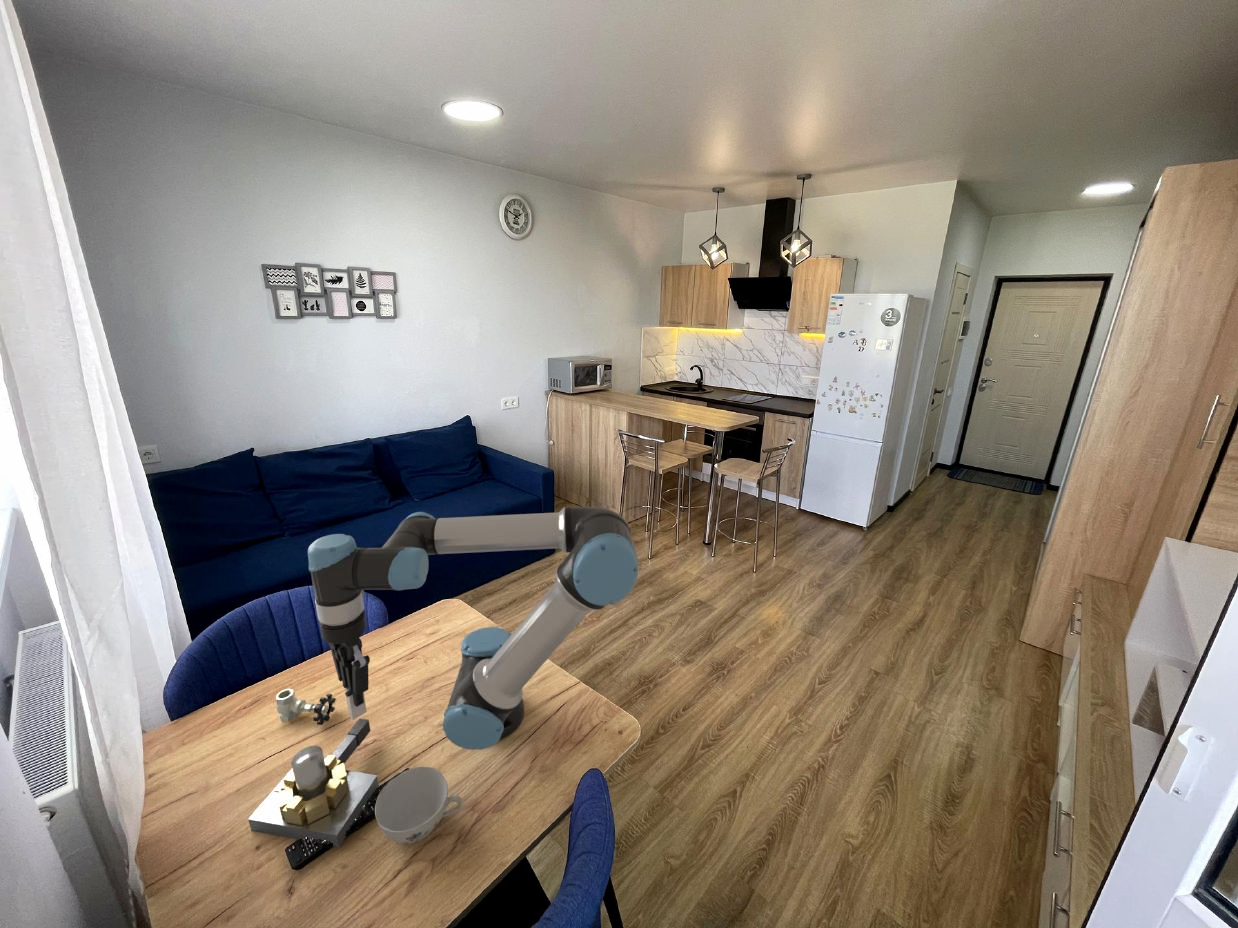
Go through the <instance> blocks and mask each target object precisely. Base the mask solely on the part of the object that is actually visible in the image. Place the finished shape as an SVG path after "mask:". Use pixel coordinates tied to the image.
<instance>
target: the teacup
mask: <svg viewBox="0 0 1238 928" xmlns="http://www.w3.org/2000/svg"><path fill="white" fill-rule="evenodd" d="M448 796H449V786H448V781H447V780H446V778H445V776H444V775H443V773H442V772H441V771H440V770H439V769H438V770H437V768H435V767H430V766H421V765H420V766H416V767H413V768H408V769H407V770H403V771H402V772H401V773H400V774H399V775H396V776H395V777H394V778H392V779H390V780H389V781H388V782H387V784H386V785H385V786H383V788H382V789H381V790H380V791H379V794H378V796H377V797H376V803H375V806H374V815H375V818H376V822H377V824H378V826H379V828H380V830H381V831H382V833H383V834H384V835H385V837H387V838H388V839H389V840H391V841H393V842H395V843H397V844H402V845H408V844H414V843H417V842H419V841H421V840H423V839H425V838H426V837H427V836H429V835H430V834H431V833H432V832H433V831H434V830H435V829H436V828H437V826H438V825H439V823H440V821H441V819H442V818H445V817H449V816H452V815H453V814H455V813H457V811H459V810H460V809H461V808H462V806H463V801H462V800H463V799H462V797H461V796H459V795H452V796H451V795H450V796H449V797H448ZM452 802H454V803H457V806H455V807H454V808H452V809H451V810H448V811H446V808H447V807H448V806H449V805H450V803H452ZM445 811H446V812H445Z"/></svg>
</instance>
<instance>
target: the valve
mask: <svg viewBox="0 0 1238 928" xmlns="http://www.w3.org/2000/svg"><path fill="white" fill-rule="evenodd" d="M275 696H276V697H275V702H276V712H277V713H278V714H279V719H280V722H287V723H288V722H291V721H292V720H294V719H297V718H298V715H299V714H302V713H303V712H306V713H312V712H313V713H314V714H316V716H313V718H312V721H313V722H316V725H317V726H323V725H324V723H325V722H329V720H330V719H331V716H330V714H331V713H334V711H335V709H336V708H335V706H333V704H335V702H336V701H337V700H336V699H337V698H336V697H333V694H332V693H327V694H326V695H325V697H323V696H321V697H320V698H319V701H318V702H320V703H317V704H315V703H314V702H313V703H312V702H307V701H306V699H302V698H301V699H298V698H297V697H296V693H295V689H293V688H286V689H283V690H281V691H279V692H278V693H277V694H276V695H275ZM327 703H328V704H327Z"/></svg>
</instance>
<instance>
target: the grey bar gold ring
mask: <svg viewBox="0 0 1238 928" xmlns="http://www.w3.org/2000/svg"><path fill="white" fill-rule="evenodd" d="M370 732H371V726H370V719H366V718H358V720H356V722H355V723H354V724H353V726H352V727H351V729H349V731H348V732H347V736H345V738H344V739H343V740H342V741H341V743H340V744H339V745H338V746H337V748H336V749H335V750H334V751H333V752H332V754H328V755H326V757H324V761H325V766H326V770H327V775H328V780H330V781H329V782H328V783H327V784H326V786H325V790H326V791H325V792H324V793H323V794H321V795H319V796H317V797H315V798H313V799H311V800H309V801H304V799H303V797H300V796H298V795H299V794H298V790H297V786H296V782H295V777H294V773H293V772H289V771H288V773H287V774H286V775H287V776H286V775H285V776H286V777H285V776H284V777H285V778H284V777H283V778H284V779H283V778H282V779H283V781H284V784H283V785H282V786H281V787H280V788H281V792H279V793H278V798H279V808H280V812H281V816H282V819H283V818H284V819H285V822H287V823H293V824H298V825H303V823H304V822H305V821H306V819H308V824H309V823H311V822H313V821H315V820H317V819H319V818H321V817H323V816H325V815H327V814H329V813H330V812H329V807H330V808H336V807H337V805H338V804H339V803H340V801H341V800H342V798H343V797H344V796H345V794H346V793H347V787H349V786H348V780H347V775H346V771H345V770H346V768H345V764H346V763H347V761H348V760H350V759H349V758H350V757H351V756H352V755H353V753H354V752H355V751H356V750H357V749H358V747H359V746H361V745H362V742H364V741H365V739H366V737H367V736H368V735H369V734H370Z"/></svg>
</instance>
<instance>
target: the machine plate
mask: <svg viewBox="0 0 1238 928" xmlns="http://www.w3.org/2000/svg"><path fill="white" fill-rule="evenodd" d="M324 759H325V756H324V752H323V749H322V747H321V746H320V745H310V746H307V747H305V748H302V749H301V750H299V751H297V753H296V754H294V756H292V759H291V763H290V765H291V769H290V770H289V771H288V773H289V772H293V773H294V777H295V782H296V786H297V790H298V794H299V795H298V796H300V797H303V799H304V801H309V800H311V799H313V798H315V797H317V796H319V795H321V794H323V793H324V792H325V791H326V790H325V786H326V784H327V783H328V782H329V781H330V780H328V775H327V770H326V766H325V761H324ZM345 771H346V775H347V780H348V786H349V787H347V793H346V794H345V796H344V797H343V798H342V800H341V801H340V803H339V804H338V805H337V807H336V808H330V807H329V812H330V813H329V814H327V815H325V816H323V817H321V818H319V819H317V820H315V821H313V822H311V823H309V824H308V819H306V821H305V822H304V823H303V825H298V824H293V823H287V822H285V819H284V818H283V819H282V816H281V812H280V808H279V798H278V793H279V792H281V788H280V787H281V786H282V785H283V784H284V781H283V779H284V778H285V777H286V776H287V774H286V775H285V776H284V777H283V778H282V780H281V781H280V782H278V784H277V785H276V786H275V788H273V790H272V791H271V792H270V793H269V795H267V797H266V798H264V800H263V801H262V802H261V803H260V804H259V806H258V807H257V808H256V809H255V810H254V812H253V813H252V814H251V815H250V816H249V817H248V819H247V820H248V824H249V827H250V830H251V831H252V832H257V833H263V834H268V835H273V836H279V837H283V838H288V839H293V840H299V839H302V838H305V837H310V838H313V839H321V840H326V841H330V842H331V843H333V846H332V847H335V848H340V847H341V845H342V843H344V841H345V839H346V837H347V836H345V834H346V831H347V830H348V828H349V826H350V825H351V823H352V822H353V821H354V819H355V818H356V817H357V815H358V813H359V812H360V810H361V809H362V807H363V806H364V805H365V803H366V801H367V800H368V798H369V797H370V795H371V794H372V793H373V792H374V790H376V788H378V789H379V787H380V784H379V779H378V775H377V774H376V775H375V774H371V773H364V772H358V771H353V770H347V769H345ZM376 791H377V790H376Z"/></svg>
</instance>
